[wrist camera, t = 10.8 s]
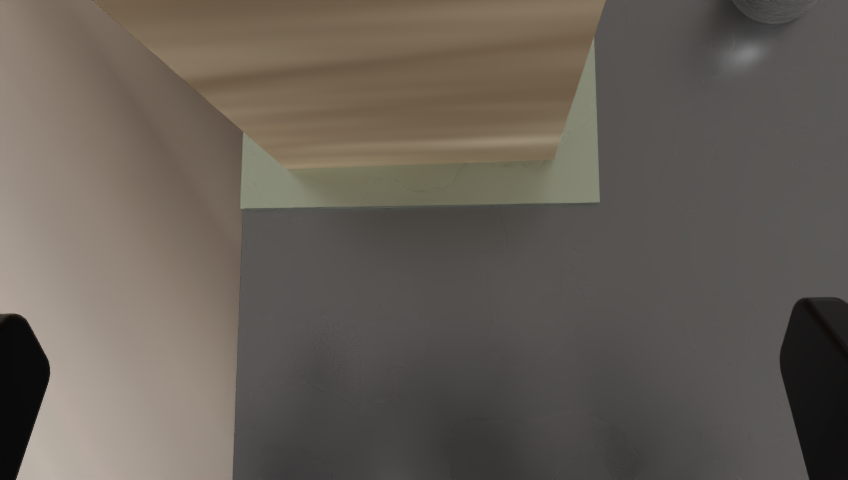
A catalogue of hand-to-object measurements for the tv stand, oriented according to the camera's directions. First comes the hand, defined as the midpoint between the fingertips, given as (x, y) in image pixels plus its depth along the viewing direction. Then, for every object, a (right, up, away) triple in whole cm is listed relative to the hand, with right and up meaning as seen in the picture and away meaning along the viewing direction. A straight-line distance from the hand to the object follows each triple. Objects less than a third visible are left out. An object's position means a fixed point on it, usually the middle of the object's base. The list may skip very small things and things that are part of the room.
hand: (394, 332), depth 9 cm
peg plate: (+4, +2, +9) cm, 10 cm away
